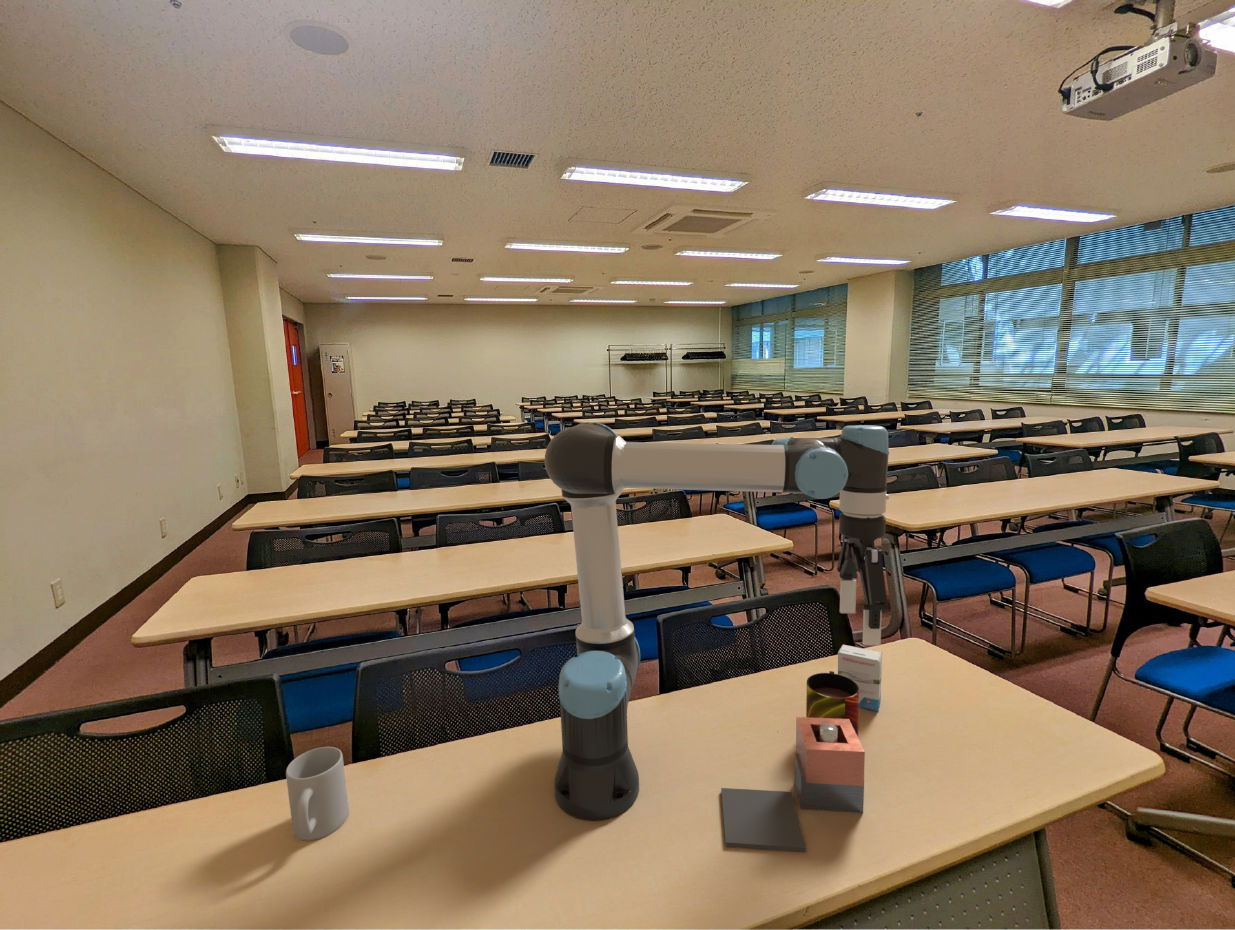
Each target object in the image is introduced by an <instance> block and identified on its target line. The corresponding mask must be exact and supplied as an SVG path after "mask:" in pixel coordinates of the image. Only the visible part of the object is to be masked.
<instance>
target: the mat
mask: <svg viewBox="0 0 1235 930" xmlns="http://www.w3.org/2000/svg"><path fill="white" fill-rule="evenodd" d="M720 790H721V803H722V816H723V827H724V828H723V829H724V841H725V847H726V848H734V849H752V850H763V851H764V850H766V851H779V852H780V851H781V852H792V853H793V852H795V853H806V851H807V847H806V843H805V840H804V839H805V838H804V835H803V831H802V827H801V824H800V819H799V816H798V811H797V807H796V804H795V800H794V796H793V793H792V791H785V790H784V791H782V790H769V789H767V790H765V789H764V790H763V789H746V788H745V789H744V788H731V787H730V788H728V787H721V789H720Z"/></svg>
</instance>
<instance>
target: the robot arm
mask: <svg viewBox="0 0 1235 930" xmlns="http://www.w3.org/2000/svg"><path fill="white" fill-rule="evenodd" d="M889 456H890V449H889V433H888V430H887V429H886V427H884V426H881V425H868V424H867V425H866V424H864V425H862V424H859V425H846V426H843V428H842V429H841V433H840V436H837V437H832V438H831V437H829V438H828V437H821V438H820V437H819V438H818V437H794V436H793V437H792V436H791V437H788V438H787V437H785V438H776V439H774V440H773V441H772V443H771V444H746V443H745V444H743V443H742V444H739V443H698V442H697V443H696V442H695V443H694V442H693V443H692V442H688V443H687V442H677V443H676V442H648V441H646V442H641V441H640V442H639V441H626V440H624V439H623V437H621V436H620V435H618V434H617V433H616V432H615V431H614V430H613V429H612V428H611V427H609V426H607V425H605V424H604V423H603V424H602V423H600V422H599V423H598V422H587V421H586V422H583V423H578V424H577V425H574V426H572V427H568V428H564V429H562V430H561V431H559V432H558V433H556V435H554V436H553V437H552V438H551V440H550V441H549V443H548V444H547V446H546V450H545V454H544V467H545V470H546V474H547V475H548V477H549V479H550V480H551V481H552V483H553V484H554V485H555V486H557V487H558V488H559V489H560V490H561V497H562V499H564V500H565V501H566V502H567V503H568V504H570V507H571V519H572V530H573V538H574V539H573V540H574V551H575V559H576V569H577V571H576V572H577V582H578V583H577V584H578V591H579V602H580V612H581V613H580V615H581V623H580V624H579V626H577V628H576V630H575V644H576V653H577V656H576V657H575V656H573V657H571V658H570V659H568V660H567V661H566V663H564V665H563V666H562V668H561V670H560V673H559V678H558V679H559V681H558V688H557V689H558V698H559V707H560V710H559V711H560V712H559V713H560V726H561V727H560V730H561V746H562V751H561V755H560V758H559V762H558V765H557V769H556V772H555V776H554V781H553V783H554V785H553V786H554V798H555V801H556V803H557V805H558V806H559V807H560V808H561V809H562V810H563V811H564V812H565V813H567V814H568V815H570V816H571V817H573V818H574V817H575V818H577V819H581V820H585V821H586V820H587V821H600V820H606V819H611V818H613V817H617V816H619V815H621V814H623V813H624V812H625V811H627V810H628V809H630V808H631V807H632V805H634V803H635V801H636V800H637V798H638V796H639V793H640V775H639V771H638V770H639V769H638V767H637V766H636V763H635V760H634V758H633V755H632V753H631V750H630V748H629V736H628V707H629V706H628V705H629V701H630V698H631V694H632V691H633V687H634V683H635V680H636V675H637V674H638V671H639V669H640V664H641V650H640V645H639V642H638V639H637V638H636V637H635V635H636V634H635V628H634V624H633V622H632V621H630V619H628V618H627V617H626V610H625V597H624V588H623V587H624V586H623V585H624V583H623V576H622V574H623V573H622V563H621V562H622V561H621V550H620V540H619V539H620V538H619V536H620V535H619V529H618V528H619V527H618V516H617V515H618V514H617V513H618V512H617V499H618V498H619V496H621V494H622V493H623V490H624V489H652V490H653V489H655V490H656V489H657V490H681V491H682V490H687V491H688V490H689V491H692V490H693V491H694V490H695V491H719V492H720V491H721V492H722V491H724V492H725V491H726V492H750V493H751V492H753V493H755V492H756V493H758V492H759V493H784V494H801V495H802V494H804V495H805V496H808V497H810V498H813V499H819V500H820V499H821V500H824V499H829V498H833V497H834V496H836V495H837V494H839V506H838V507H839V511H841V512H840V514H839V520H838V523H839V524H838V526H839V527H838V531H839V534H841V535H842V542H841V543H842V544H841V546H840V551H839V552H840V553H839V557H838V563H837V567H836V571H837V572H838V573H839V579H840V587H839V588H840V590H839V591H840V593H839V598H840V599H839V613H840V614H856V607H857V602H856V601H857V580H856V579H858V578H859V576H858V573H859V575H860V580H861V587H862V592H863V597H864V603H865V604H863V605H862V607H861V610H862V611H863V612H862V613H863V617H862V641H861V643H862V644H863V646H880V647H881V645H882V644H881V642H882V621H883V620H882V615H883V611H888V610H889V604H888V597H887V590H886V589H887V588H886V583H885V574H884V567H883V565H884V564H883V553H884V552H883V550H882V549H877V547H876V545H875V541H876V540H877V539H882V538H884V537H885V536H886V522H887V518H886V516H885V515H884V514H885V513H886V511H887V500H889V498H890V495H889V494H887V492H888V491H887V489H888V487H887V486H888V485H887V484H888V483H887V482H888V467H889Z"/></svg>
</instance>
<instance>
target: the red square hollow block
mask: <svg viewBox="0 0 1235 930" xmlns="http://www.w3.org/2000/svg"><path fill="white" fill-rule="evenodd" d="M795 719H796V720H795V749H796V753H798V757H799V760H800V763H801V767H802V770H803V774H804V777H805V780H806V783H817V784H836V785H855V786H864V787H865V755H866V754H865V753H866V750H865V749H864V748H863V746H862V743H861V741H860V739H859V736H858V737H857V735H856V733H855V730H854V728H853V726H852V724H851V722H850V720H849V719H833V718H807V717H806V716H805V717H803V716H796V717H795ZM823 723H829V724H833V725H835V726H836V727H837V729H838V740H837V743H826V742H820V725H821V724H823Z"/></svg>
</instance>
